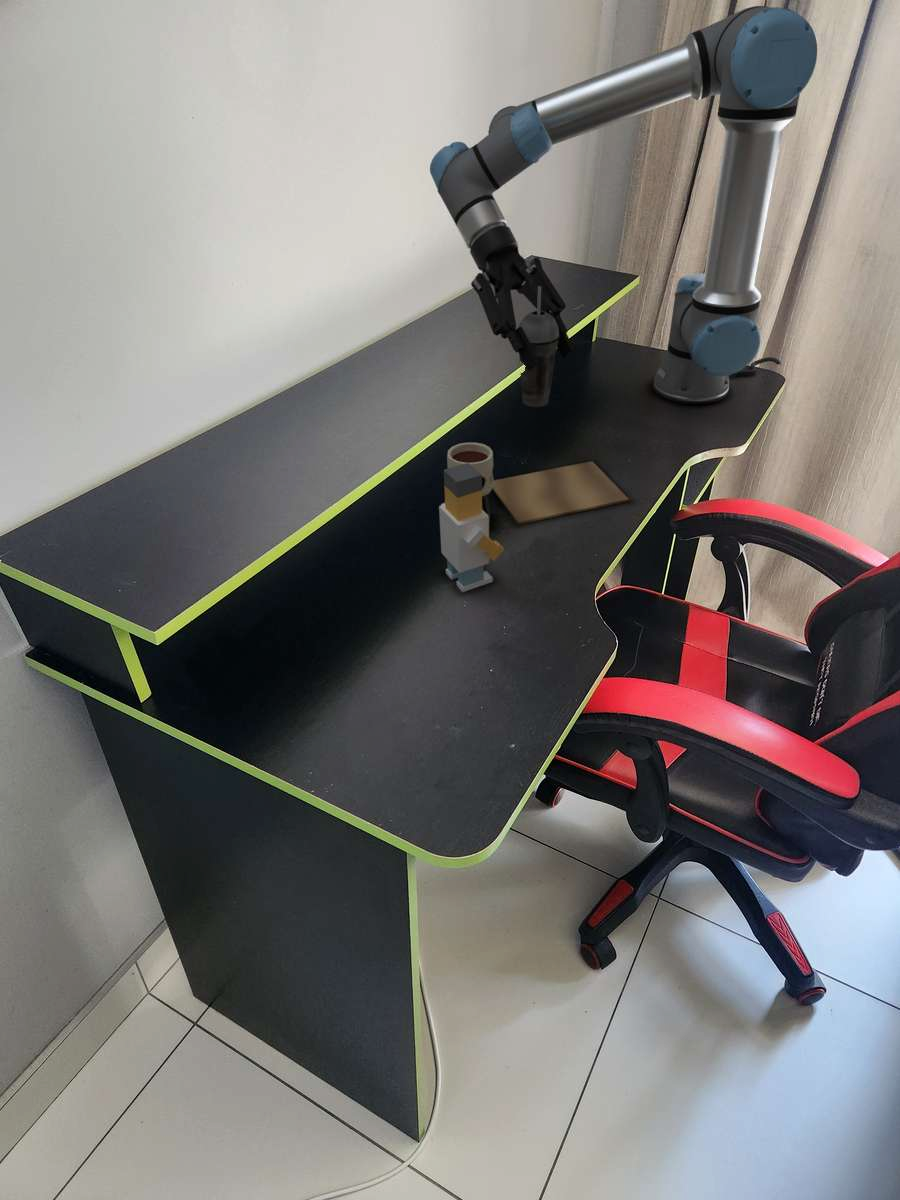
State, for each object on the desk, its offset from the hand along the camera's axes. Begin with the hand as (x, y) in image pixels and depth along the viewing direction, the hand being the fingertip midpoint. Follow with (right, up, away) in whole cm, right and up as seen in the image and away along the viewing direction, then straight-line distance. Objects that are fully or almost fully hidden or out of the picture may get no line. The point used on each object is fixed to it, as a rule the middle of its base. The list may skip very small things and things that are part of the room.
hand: (551, 360), depth 130 cm
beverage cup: (-2, -5, +8) cm, 9 cm away
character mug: (-13, -28, -2) cm, 31 cm away
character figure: (-14, -37, -13) cm, 42 cm away
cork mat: (+2, -21, +5) cm, 22 cm away
